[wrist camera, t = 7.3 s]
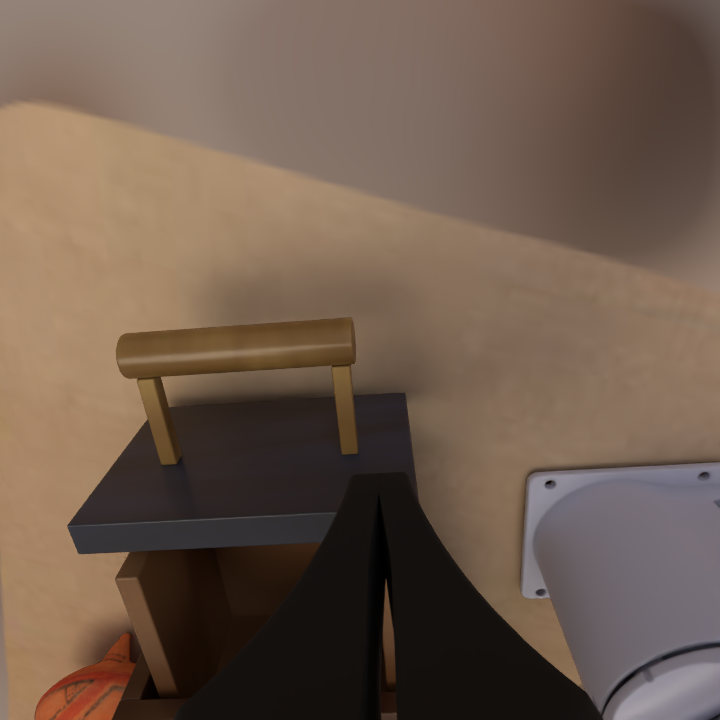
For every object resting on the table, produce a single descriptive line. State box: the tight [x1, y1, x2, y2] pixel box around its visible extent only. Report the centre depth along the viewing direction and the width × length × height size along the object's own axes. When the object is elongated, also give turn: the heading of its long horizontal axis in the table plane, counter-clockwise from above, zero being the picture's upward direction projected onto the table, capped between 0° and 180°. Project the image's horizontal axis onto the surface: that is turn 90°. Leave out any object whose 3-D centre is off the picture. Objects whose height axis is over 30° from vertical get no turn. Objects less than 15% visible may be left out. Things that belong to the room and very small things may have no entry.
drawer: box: [68, 317, 419, 699], centre depth 21 cm, size 17×11×7 cm, turn 4°
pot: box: [35, 633, 136, 720], centre depth 29 cm, size 8×8×7 cm
